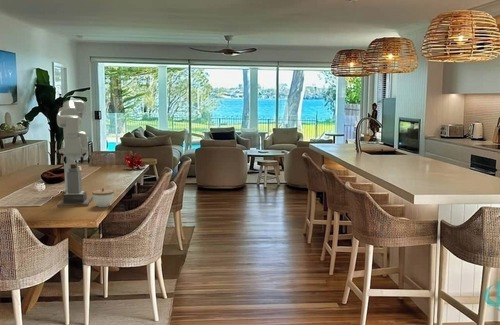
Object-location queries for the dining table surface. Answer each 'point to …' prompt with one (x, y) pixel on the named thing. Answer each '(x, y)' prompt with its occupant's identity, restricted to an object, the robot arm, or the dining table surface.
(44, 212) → the dining table surface
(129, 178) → the dining table surface
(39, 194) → the dining table surface
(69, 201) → the stand
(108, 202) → the lidded bowl
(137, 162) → the sculptural form
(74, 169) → the perfume bottle
